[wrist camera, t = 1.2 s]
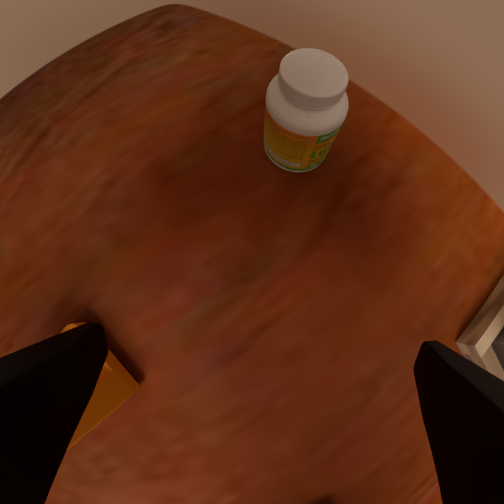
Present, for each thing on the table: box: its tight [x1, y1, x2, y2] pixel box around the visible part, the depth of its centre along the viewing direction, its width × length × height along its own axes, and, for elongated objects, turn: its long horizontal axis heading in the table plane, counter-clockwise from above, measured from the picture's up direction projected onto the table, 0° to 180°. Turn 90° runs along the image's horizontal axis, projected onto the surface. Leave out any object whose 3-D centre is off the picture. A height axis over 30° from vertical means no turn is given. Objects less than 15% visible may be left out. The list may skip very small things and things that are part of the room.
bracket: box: [61, 322, 141, 451], centre depth 16 cm, size 11×7×12 cm, turn 133°
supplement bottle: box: [264, 48, 349, 172], centre depth 20 cm, size 5×5×10 cm
